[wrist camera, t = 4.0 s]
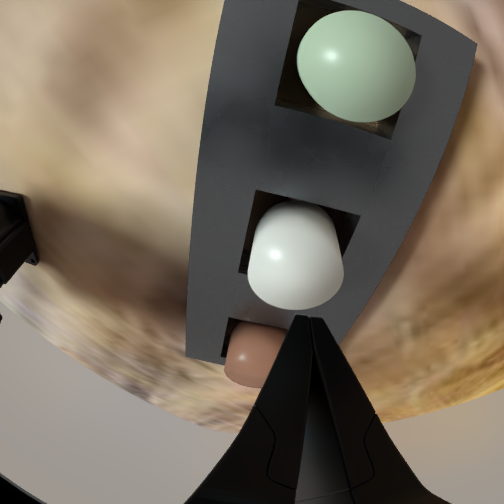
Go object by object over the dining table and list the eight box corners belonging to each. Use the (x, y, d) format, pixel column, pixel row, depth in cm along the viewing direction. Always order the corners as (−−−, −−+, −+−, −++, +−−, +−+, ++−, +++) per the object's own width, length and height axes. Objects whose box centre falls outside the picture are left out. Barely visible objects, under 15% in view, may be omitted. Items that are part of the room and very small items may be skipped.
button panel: (191, 336, 23) (185, 356, 21) (242, -28, 8) (234, -41, 6) (312, 359, 23) (312, 379, 21) (455, 42, 8) (477, 43, 7)
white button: (248, 258, 16) (240, 299, 13) (264, 191, 13) (258, 227, 11) (320, 274, 16) (324, 316, 13) (347, 212, 13) (358, 250, 11)
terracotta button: (228, 346, 21) (221, 381, 19) (236, 312, 18) (228, 351, 16) (281, 356, 21) (278, 391, 19) (297, 324, 19) (296, 364, 16)
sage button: (287, 93, 11) (286, 103, 9) (306, 10, 9) (312, -5, 6) (374, 119, 11) (397, 137, 9) (397, 40, 9) (426, 38, 6)
